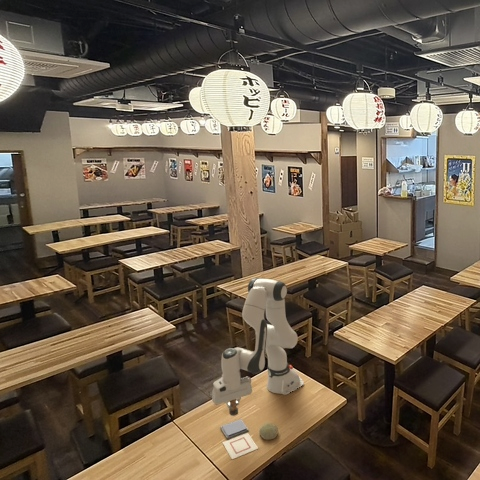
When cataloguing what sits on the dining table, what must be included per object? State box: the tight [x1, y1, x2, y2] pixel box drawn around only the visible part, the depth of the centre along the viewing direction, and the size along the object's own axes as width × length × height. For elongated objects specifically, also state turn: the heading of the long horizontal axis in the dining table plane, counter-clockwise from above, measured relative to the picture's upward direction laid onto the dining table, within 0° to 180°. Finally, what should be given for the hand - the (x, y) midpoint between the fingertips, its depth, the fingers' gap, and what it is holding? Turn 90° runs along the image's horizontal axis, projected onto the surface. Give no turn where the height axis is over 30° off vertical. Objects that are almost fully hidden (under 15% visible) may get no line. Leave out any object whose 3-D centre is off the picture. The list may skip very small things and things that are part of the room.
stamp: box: [228, 399, 239, 417], centre depth 198 cm, size 4×4×9 cm
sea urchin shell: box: [258, 422, 279, 441], centre depth 202 cm, size 9×8×8 cm
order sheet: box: [222, 432, 259, 460], centre depth 197 cm, size 14×12×1 cm
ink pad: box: [220, 418, 249, 440], centre depth 207 cm, size 12×9×2 cm
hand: (233, 406), depth 198 cm, fingers closed on stamp, 3 cm apart
